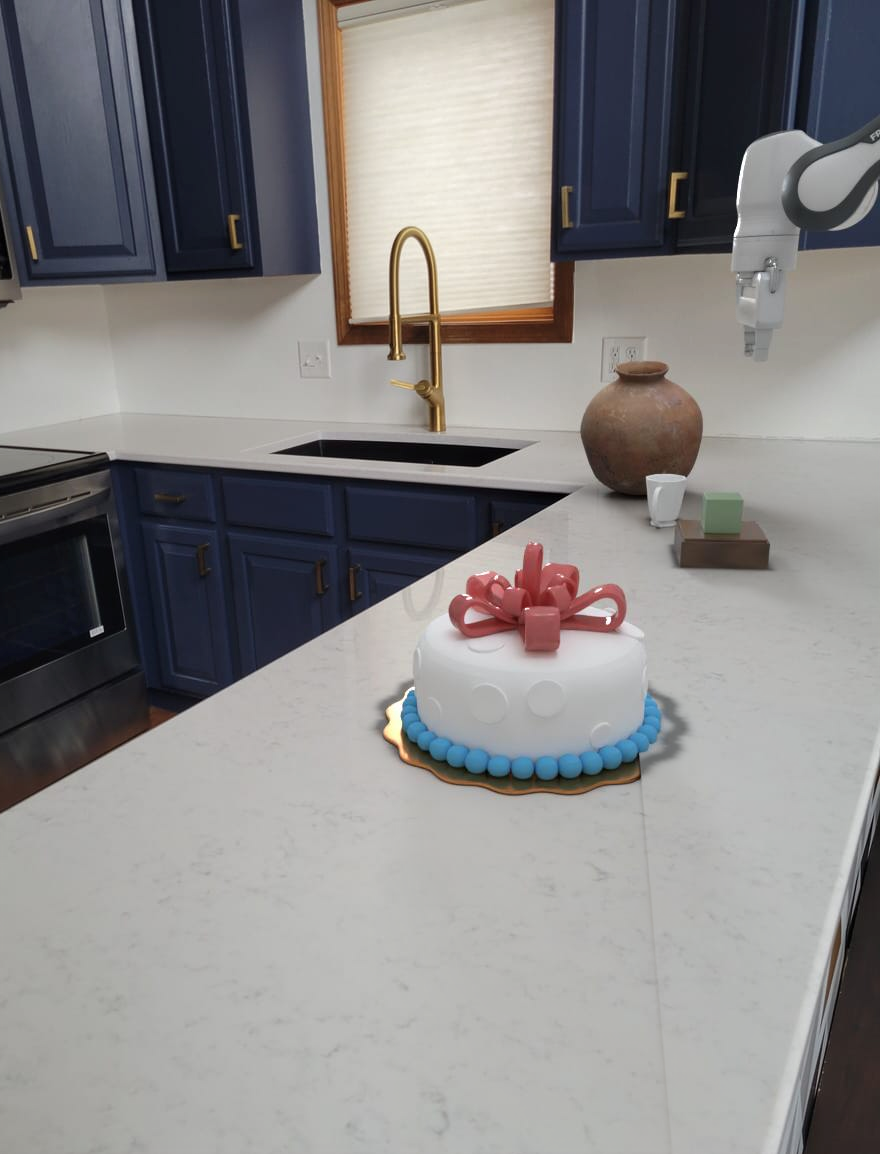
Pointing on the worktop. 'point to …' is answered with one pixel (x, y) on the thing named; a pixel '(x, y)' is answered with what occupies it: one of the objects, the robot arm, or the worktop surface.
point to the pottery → (641, 428)
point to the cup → (665, 498)
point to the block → (722, 512)
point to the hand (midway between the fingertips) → (754, 358)
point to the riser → (720, 547)
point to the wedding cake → (528, 687)
